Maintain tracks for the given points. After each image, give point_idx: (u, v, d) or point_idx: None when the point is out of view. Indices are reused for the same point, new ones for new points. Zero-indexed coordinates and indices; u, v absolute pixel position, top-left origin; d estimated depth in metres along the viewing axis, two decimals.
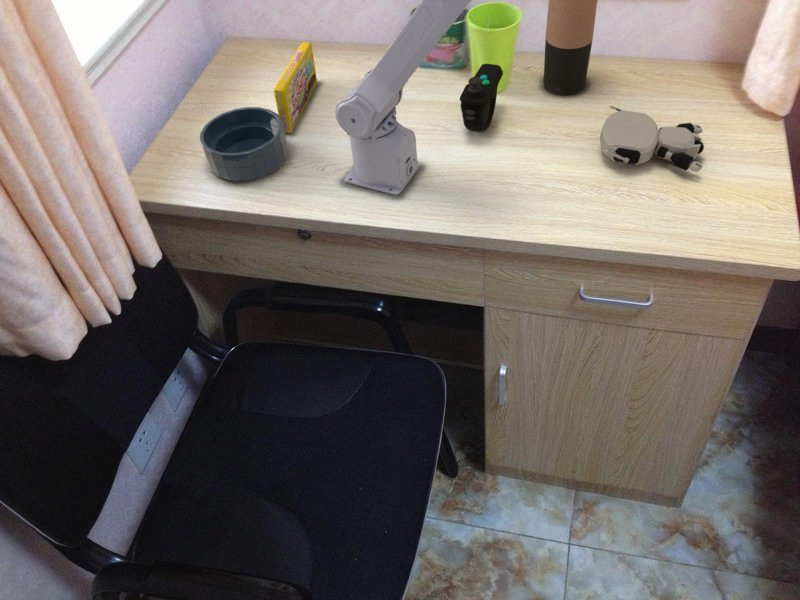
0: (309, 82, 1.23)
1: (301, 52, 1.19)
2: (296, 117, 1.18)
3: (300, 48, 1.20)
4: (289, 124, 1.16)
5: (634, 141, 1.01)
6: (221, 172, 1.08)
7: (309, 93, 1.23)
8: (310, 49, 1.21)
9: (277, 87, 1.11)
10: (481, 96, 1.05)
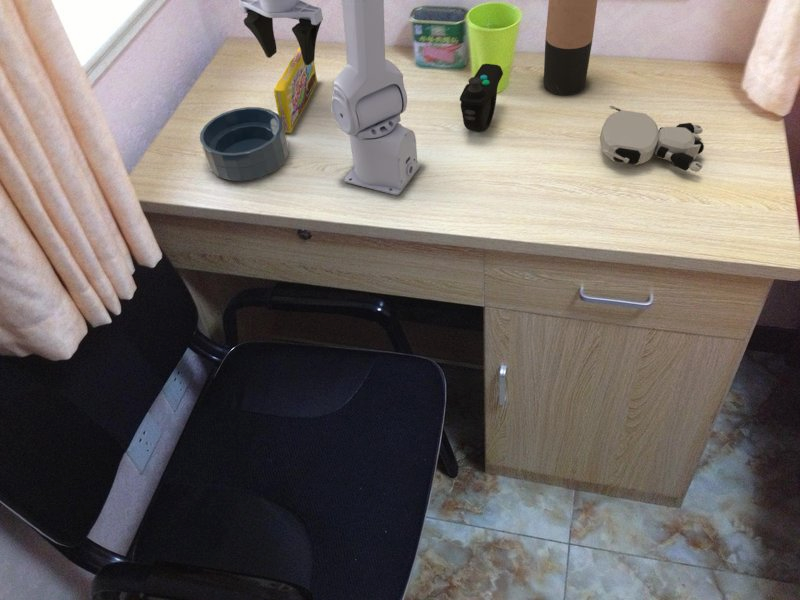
0: (309, 82, 1.23)
1: None
2: (296, 117, 1.18)
3: None
4: (289, 124, 1.16)
5: (634, 141, 1.01)
6: (221, 172, 1.08)
7: (309, 93, 1.23)
8: None
9: (277, 87, 1.11)
10: (481, 96, 1.05)
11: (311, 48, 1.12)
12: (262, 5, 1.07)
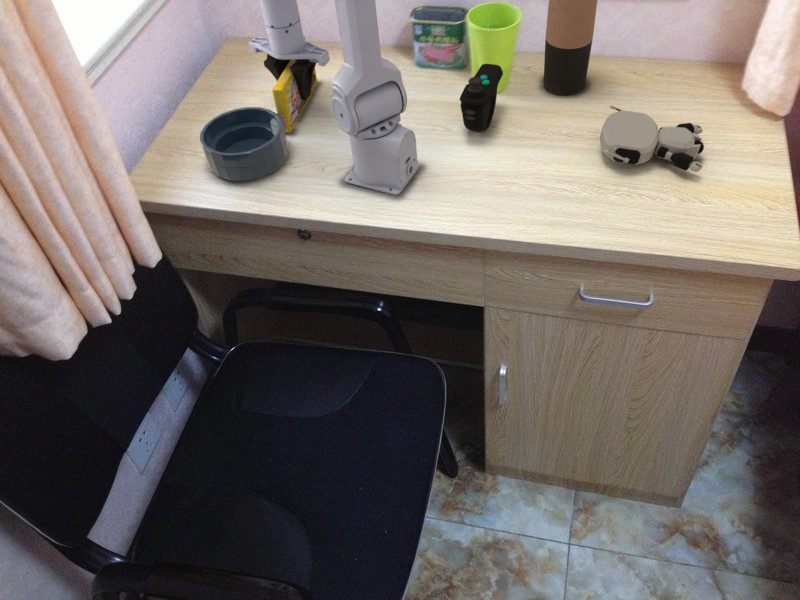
0: None
1: None
2: (296, 117, 1.18)
3: None
4: (288, 124, 1.16)
5: (634, 141, 1.01)
6: (221, 172, 1.08)
7: None
8: None
9: (275, 87, 1.11)
10: (481, 96, 1.05)
11: (308, 84, 1.18)
12: (272, 47, 1.12)
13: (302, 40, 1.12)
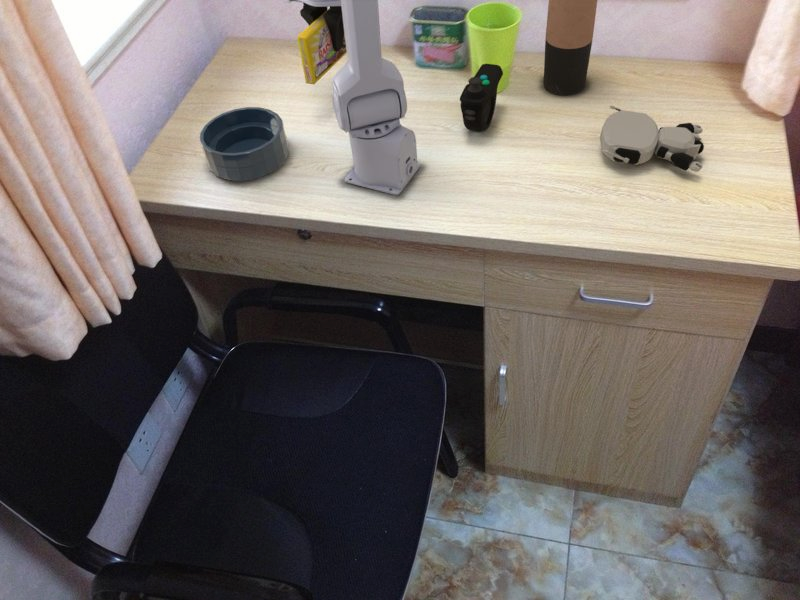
0: None
1: None
2: (324, 69, 1.15)
3: None
4: (312, 75, 1.12)
5: (634, 141, 1.01)
6: (221, 172, 1.08)
7: None
8: None
9: (301, 34, 1.08)
10: (481, 96, 1.05)
11: (340, 35, 1.15)
12: None
13: None
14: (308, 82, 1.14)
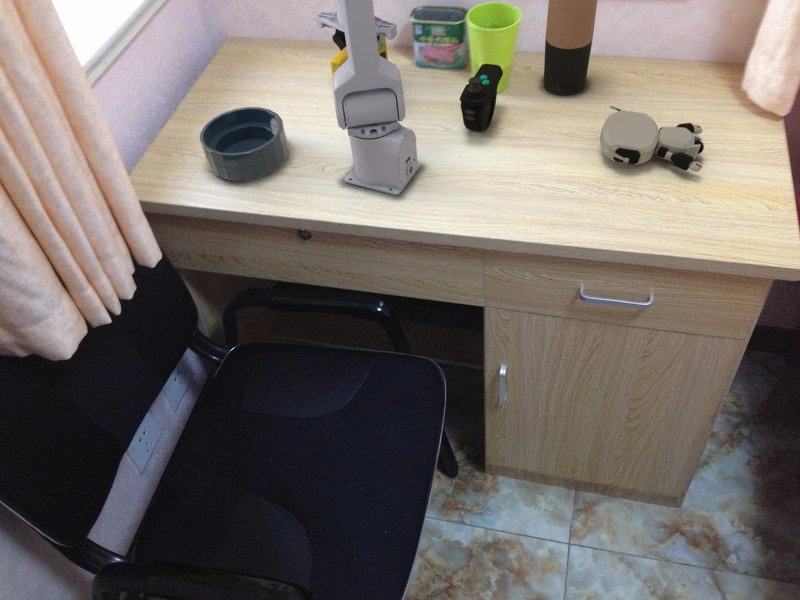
0: None
1: None
2: None
3: None
4: None
5: (634, 141, 1.01)
6: (221, 172, 1.08)
7: None
8: None
9: (334, 59, 1.13)
10: (481, 96, 1.05)
11: None
12: (340, 21, 1.13)
13: None
14: None
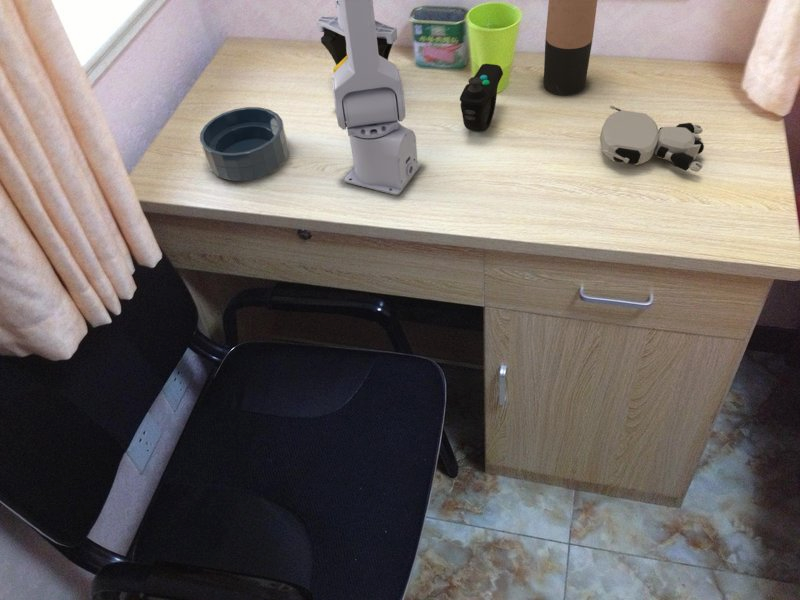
0: None
1: None
2: None
3: None
4: None
5: (634, 141, 1.01)
6: (221, 172, 1.08)
7: None
8: None
9: (337, 67, 1.14)
10: (481, 96, 1.05)
11: None
12: (341, 25, 1.14)
13: None
14: None
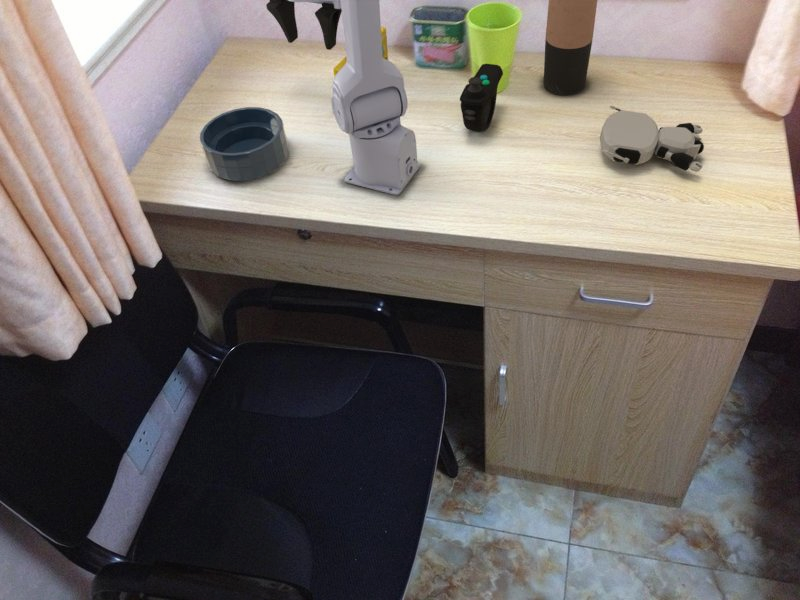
0: None
1: None
2: None
3: None
4: None
5: (634, 141, 1.01)
6: (221, 172, 1.08)
7: None
8: (384, 34, 1.23)
9: (337, 67, 1.14)
10: (481, 96, 1.05)
11: (333, 33, 1.13)
12: None
13: None
14: None
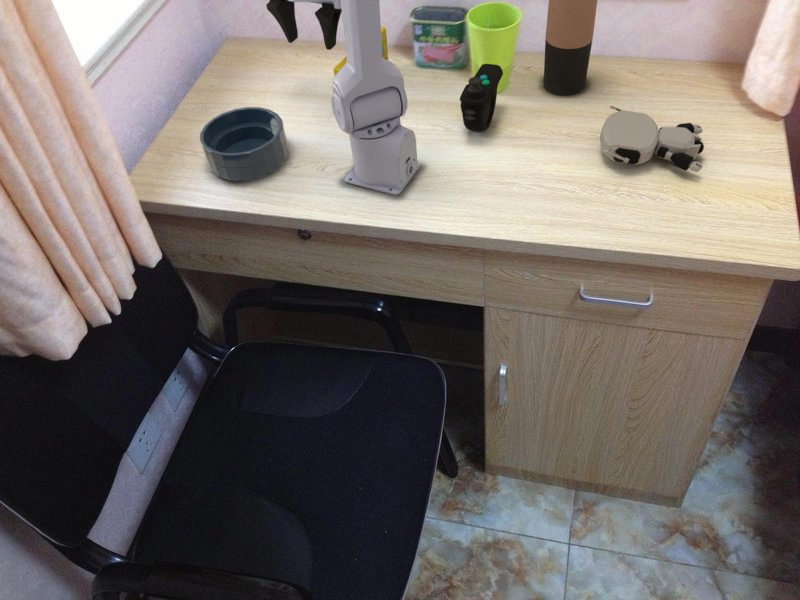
0: None
1: None
2: None
3: None
4: None
5: (634, 141, 1.01)
6: (221, 172, 1.08)
7: None
8: (384, 34, 1.23)
9: (337, 67, 1.14)
10: (481, 96, 1.05)
11: (333, 33, 1.13)
12: None
13: None
14: None
